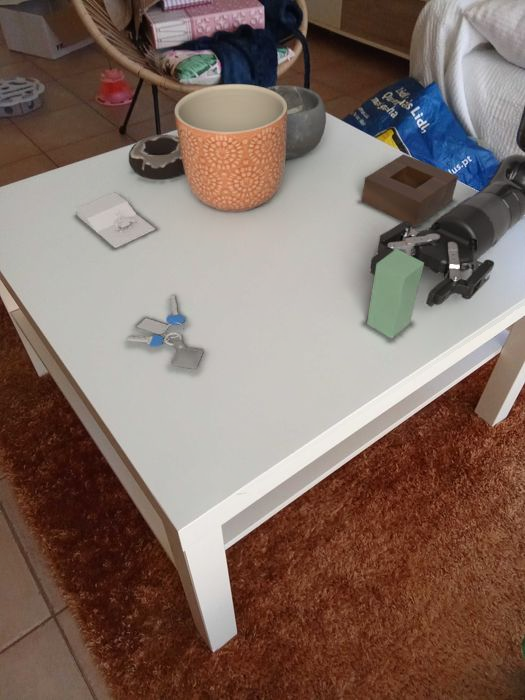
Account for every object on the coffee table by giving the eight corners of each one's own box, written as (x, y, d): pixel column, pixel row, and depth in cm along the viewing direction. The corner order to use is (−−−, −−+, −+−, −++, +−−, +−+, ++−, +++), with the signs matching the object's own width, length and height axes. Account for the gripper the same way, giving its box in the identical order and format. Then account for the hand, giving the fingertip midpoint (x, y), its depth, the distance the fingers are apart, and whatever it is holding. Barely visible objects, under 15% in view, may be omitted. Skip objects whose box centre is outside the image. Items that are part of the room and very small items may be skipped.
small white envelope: (116, 198, 96) (113, 185, 94) (155, 229, 90) (153, 215, 88) (77, 215, 93) (73, 202, 91) (115, 248, 86) (111, 234, 85)
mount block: (399, 177, 99) (403, 153, 96) (452, 200, 94) (458, 175, 90) (361, 202, 94) (364, 177, 91) (415, 227, 89) (420, 202, 85)
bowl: (238, 138, 110) (236, 85, 103) (313, 130, 112) (315, 78, 104) (251, 176, 100) (249, 121, 93) (332, 168, 102) (336, 113, 94)
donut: (145, 148, 108) (142, 128, 105) (203, 154, 106) (201, 134, 103) (120, 179, 100) (115, 158, 97) (182, 187, 98) (179, 165, 95)
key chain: (210, 365, 69) (209, 361, 69) (145, 387, 67) (144, 383, 66) (175, 297, 78) (174, 292, 77) (116, 314, 76) (115, 310, 75)
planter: (166, 209, 94) (152, 119, 82) (217, 162, 104) (210, 76, 93) (258, 234, 88) (255, 142, 77) (302, 182, 98) (305, 94, 87)
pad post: (385, 309, 76) (396, 248, 69) (409, 323, 74) (424, 262, 67) (366, 324, 74) (376, 263, 67) (391, 339, 72) (404, 278, 65)
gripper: (431, 186, 79) (358, 235, 71) (527, 227, 72) (457, 286, 64) (421, 231, 84) (352, 281, 76) (509, 273, 77) (443, 333, 69)
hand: (400, 284), depth 70 cm, fingers open, 8 cm apart
